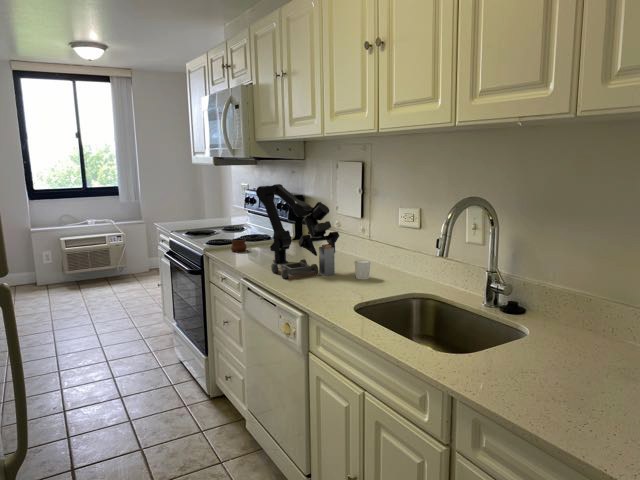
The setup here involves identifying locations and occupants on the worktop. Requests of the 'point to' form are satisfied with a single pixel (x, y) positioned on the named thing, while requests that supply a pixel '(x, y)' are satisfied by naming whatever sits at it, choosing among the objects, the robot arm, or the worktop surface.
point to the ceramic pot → (238, 245)
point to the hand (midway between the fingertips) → (325, 254)
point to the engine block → (326, 260)
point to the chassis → (295, 270)
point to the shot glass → (362, 269)
